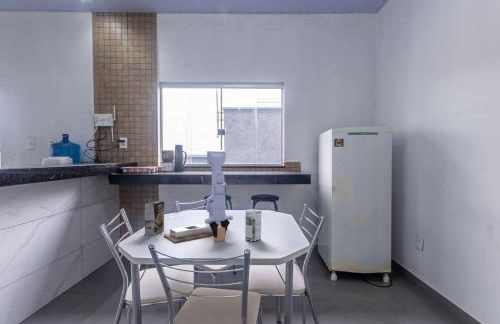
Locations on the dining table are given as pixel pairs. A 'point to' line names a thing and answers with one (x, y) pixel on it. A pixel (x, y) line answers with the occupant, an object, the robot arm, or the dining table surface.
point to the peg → (220, 234)
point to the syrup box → (253, 225)
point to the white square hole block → (190, 230)
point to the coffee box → (154, 217)
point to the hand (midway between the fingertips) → (219, 236)
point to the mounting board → (187, 237)
